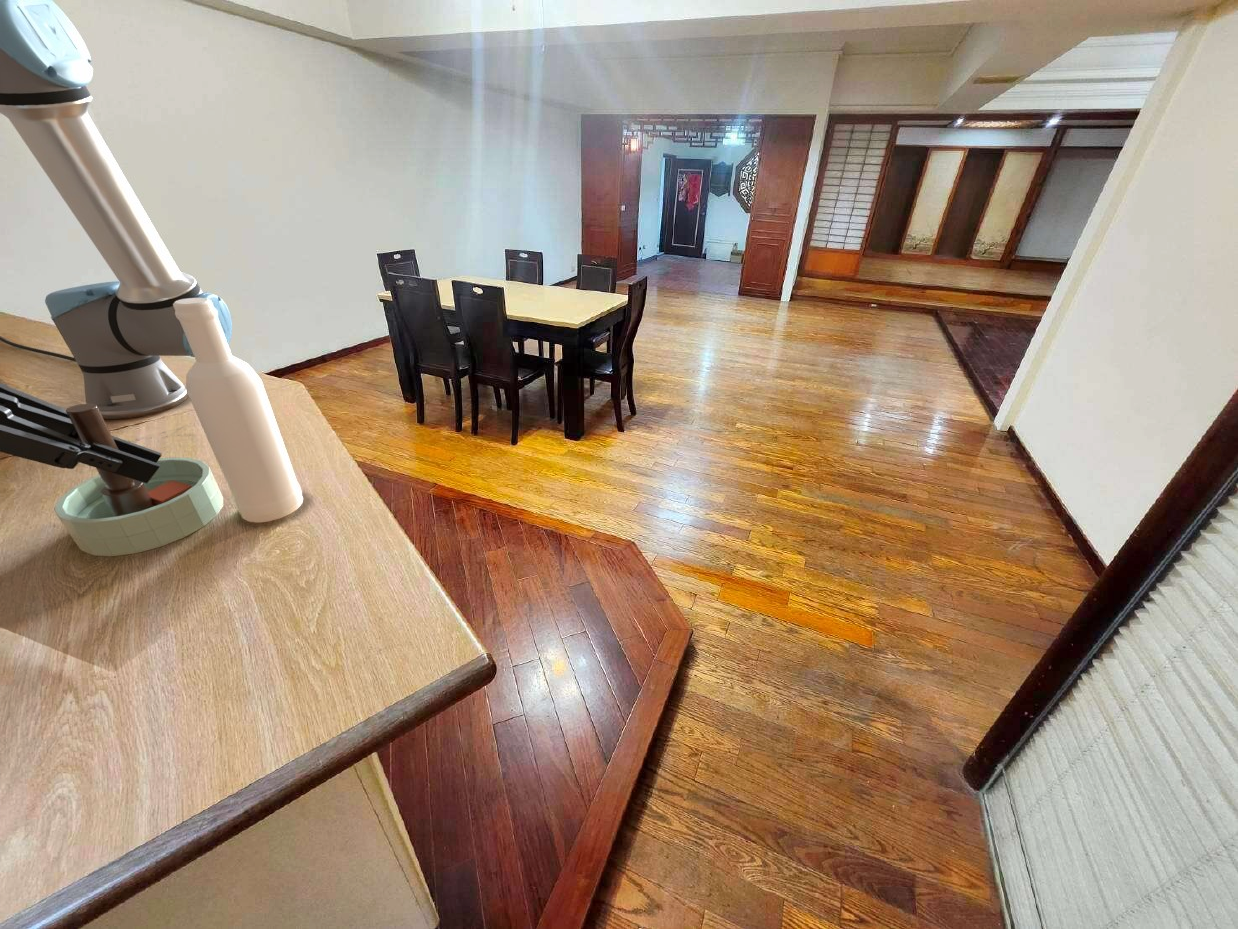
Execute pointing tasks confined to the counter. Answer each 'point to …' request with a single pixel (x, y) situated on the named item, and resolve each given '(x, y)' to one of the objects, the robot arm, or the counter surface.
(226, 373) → the bottle
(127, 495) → the pestle
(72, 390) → the counter surface
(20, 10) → the robot arm
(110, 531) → the bowl
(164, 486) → the block
